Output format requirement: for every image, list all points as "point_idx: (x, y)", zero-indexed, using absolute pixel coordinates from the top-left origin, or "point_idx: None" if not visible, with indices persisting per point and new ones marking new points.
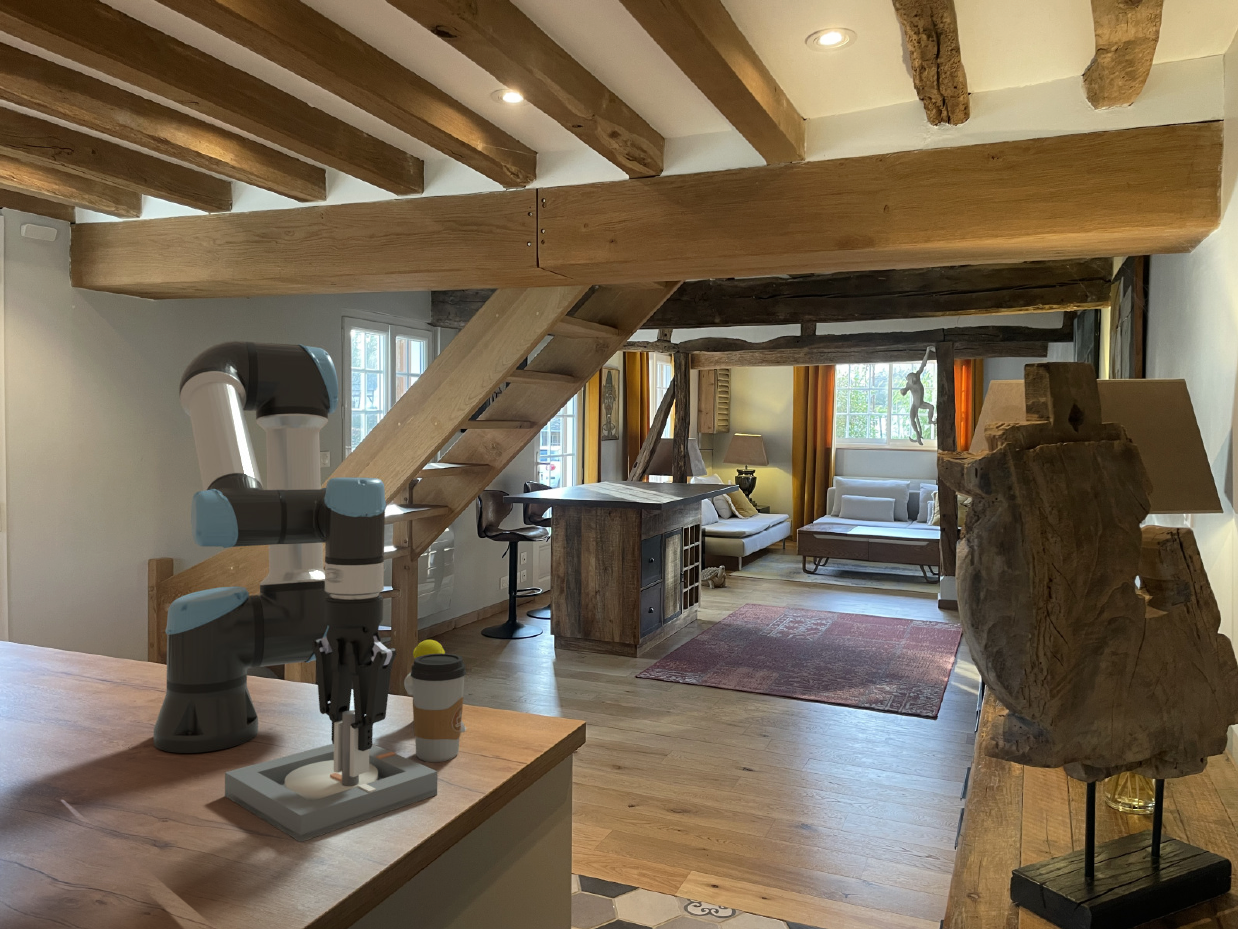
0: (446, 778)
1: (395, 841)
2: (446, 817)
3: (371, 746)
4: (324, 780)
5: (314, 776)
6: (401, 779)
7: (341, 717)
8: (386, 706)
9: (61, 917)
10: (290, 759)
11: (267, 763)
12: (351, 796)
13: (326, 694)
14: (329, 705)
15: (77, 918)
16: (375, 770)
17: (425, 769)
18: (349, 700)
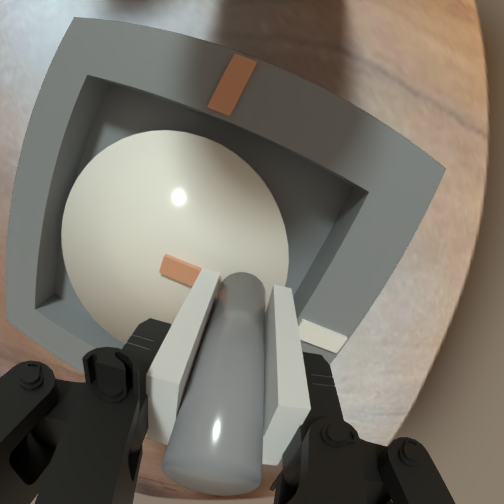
0: (387, 62)
1: (402, 370)
2: (460, 267)
3: (325, 362)
4: (165, 295)
5: (126, 279)
6: (381, 253)
7: (142, 426)
8: (447, 493)
9: (166, 497)
10: (26, 223)
11: (14, 262)
12: None
13: (29, 492)
14: (54, 444)
15: (177, 498)
16: (255, 182)
17: (414, 161)
18: (119, 474)
